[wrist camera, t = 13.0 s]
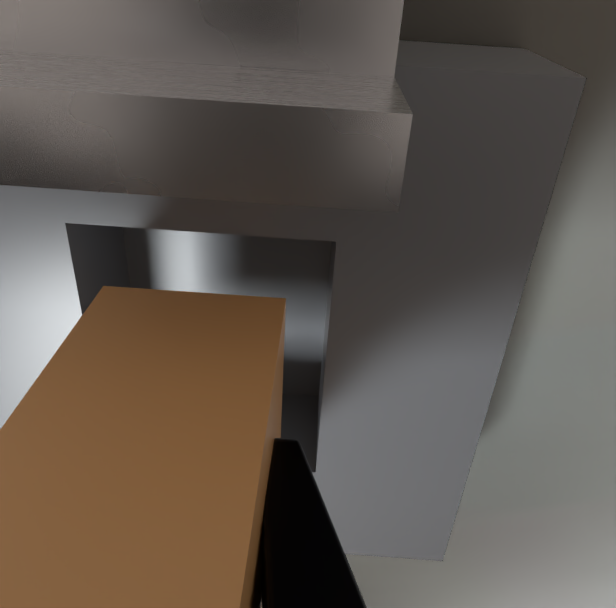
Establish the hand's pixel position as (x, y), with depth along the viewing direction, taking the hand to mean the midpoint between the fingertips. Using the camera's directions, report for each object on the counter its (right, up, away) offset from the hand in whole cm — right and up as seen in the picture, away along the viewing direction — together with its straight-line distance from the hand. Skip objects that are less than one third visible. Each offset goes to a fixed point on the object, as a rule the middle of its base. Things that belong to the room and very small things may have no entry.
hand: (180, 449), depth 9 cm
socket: (0, +3, +4) cm, 5 cm away
